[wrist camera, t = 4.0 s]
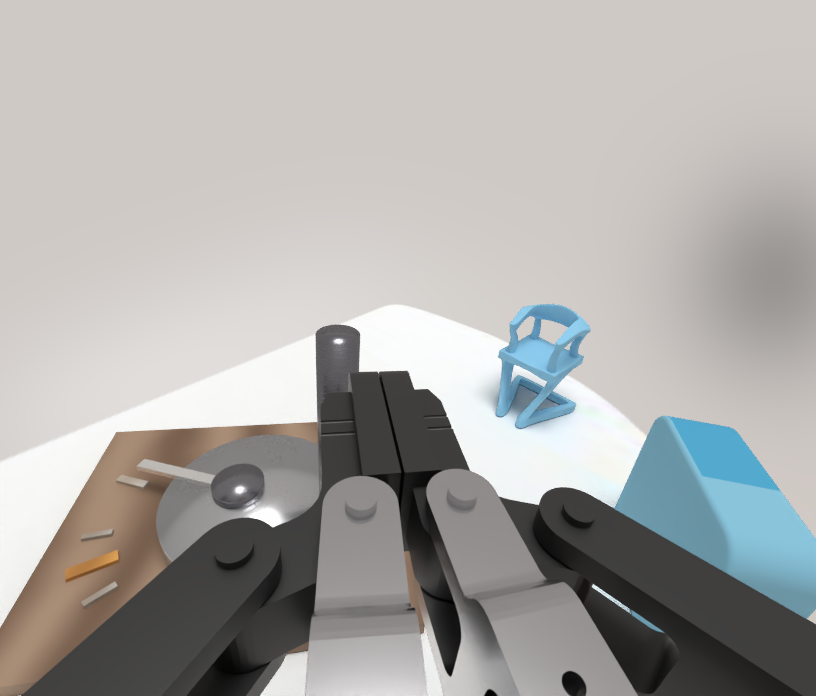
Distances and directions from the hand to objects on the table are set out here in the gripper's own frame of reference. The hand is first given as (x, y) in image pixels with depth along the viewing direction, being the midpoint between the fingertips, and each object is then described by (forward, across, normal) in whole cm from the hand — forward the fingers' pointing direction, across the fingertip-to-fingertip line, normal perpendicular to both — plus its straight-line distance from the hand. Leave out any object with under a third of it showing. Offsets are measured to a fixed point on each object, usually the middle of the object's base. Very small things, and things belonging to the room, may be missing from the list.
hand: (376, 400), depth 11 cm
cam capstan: (+15, -7, -20) cm, 26 cm away
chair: (+27, +22, -22) cm, 41 cm away
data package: (+5, +22, -22) cm, 31 cm away
